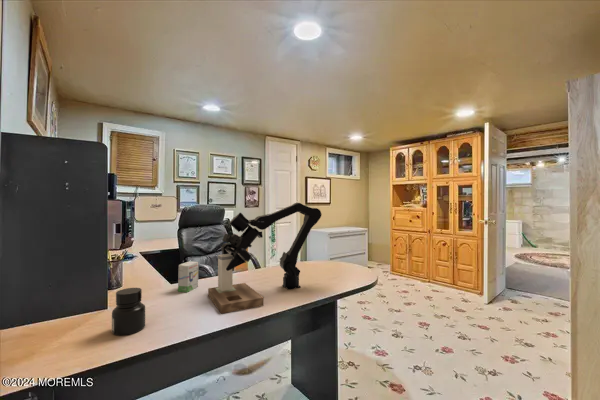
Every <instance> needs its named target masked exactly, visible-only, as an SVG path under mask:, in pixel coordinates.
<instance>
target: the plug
mask: <svg viewBox="0 0 600 400" xmlns="http://www.w3.org/2000/svg"><path fill="white" fill-rule="evenodd" d="M232 259H233V255H230V254H222V253H221V254H218V255H217V264H218V266H217V285H218V286H217V287H218V289H220V290H221V291H225V290H231V289H233V285H234V284H233V273H234V272H233V269H234V268H233V269H231V270H229V271H227V270H226V268H227V266H228V265H229V263H230V262H231V260H232Z"/></svg>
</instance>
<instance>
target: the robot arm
mask: <svg viewBox="0 0 600 400" xmlns="http://www.w3.org/2000/svg"><path fill="white" fill-rule="evenodd" d="M296 213H299V214H301V215H304V216H303V221H302V224H301V227H300V229H299V231H298V232H297V234H296V236H295V238H294V240H293V242H292V244H291V246H290V248H289V250H288V251H287V252H285V251H283V252H282V255H281V256H280V258H279V266H280V268H281V269H282V270H283V272H284V273H283V277H282V285H281V286H282V287H283V288H285V289H286V290H293V289H294V290H295V289H300V288H301V285H300V273H301V270H300V269H299V267H297V263H298V257H299V254H300V251H301V250H302V247H303V246H304V243H305V242H306V240H307V238H308V236H309V233H310V232H311V231H312V228H313V227H315V225H316V224H317V223H318V222H319V220H320V219H321V217H322V211H321V209H320V208H316V207H310V206H307V205H305V204H303V203H301V202H294V203H293V204H291V205H288V206H285V207H284V208H281V209H280V210H276V211H274V212H272V213H267V214H263V215H258V216H256V217H255V218H253V219H247V218H246V216H244V215H243V213H242V212H239V213H238V214H236V215H235V217H233V218H232V219H231V220H230V221H229V223H228V225H230V226H231V227H232V228H233V229H234V230H236V231H237V232H238V233H240V232H242V233H241V235H240V236H239V235H238V234H235V233H233V234H228V233H224V236H223V238H222V242H225V243H223V244H222V245H221V246H220V247H221V255H222V254H230V255H233V259H232V260H231V262H230V263H229V265H228V266H227V268H226V270H227V271H229V270H231V269H235V268H236V267H238V266H240V265H243V264H245V263H248V262H249V261H251V259H252V255H251V254H250V252H249V251H247V249H249V248H251V247H252V243H253V242H255V240H256V239H257V237H258V238H259V239H262V238H263V230H266V229H268V228H269V227H270V226H272V225H273V224H274V223H276V222H278V221H280V220H282V219H284V218H286V217H289V216H291V215H293V214H296ZM258 229H259V230H258ZM261 230H262V231H261ZM217 267H218V263H217Z"/></svg>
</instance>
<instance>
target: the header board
mask: <svg viewBox="0 0 600 400" xmlns="http://www.w3.org/2000/svg"><path fill="white" fill-rule="evenodd" d="M207 295H208V297H209V299H210V300H211V301H212V303H213V304H214V305H215V307H216V309H217V310H218V311H219V312H220V315H221V314H222V315H223V314H226V313H231V312H236V311H237V312H238V311H243V310H247V309H248V310H249V309H251V308H252V309H253V308H257V307H263V306H264V297H263V296H262V295H261V294H260V293H258V292H257V291H256V290H255V289H254V288H252V287H251V286H250V285H249V284H247V283H246V282H241V283H235V284H233V289H231V290H225V291H221V290H220V289H218V286H216V287H208V288H207Z"/></svg>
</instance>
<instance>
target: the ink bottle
mask: <svg viewBox="0 0 600 400" xmlns="http://www.w3.org/2000/svg"><path fill="white" fill-rule="evenodd" d="M142 293H143V292H142V288H141V287H128V288H122V289H120V290H117V291H116V292H115V304H116V306H115V308H114V309H113V310H112V312H111V333H112V335H115V336H126V335H127V336H128V335H132V334H135V333H137V332H140V331H141V330H144V328H145V327H146V305H145V304H144V303H142V297H143V296H142Z"/></svg>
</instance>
